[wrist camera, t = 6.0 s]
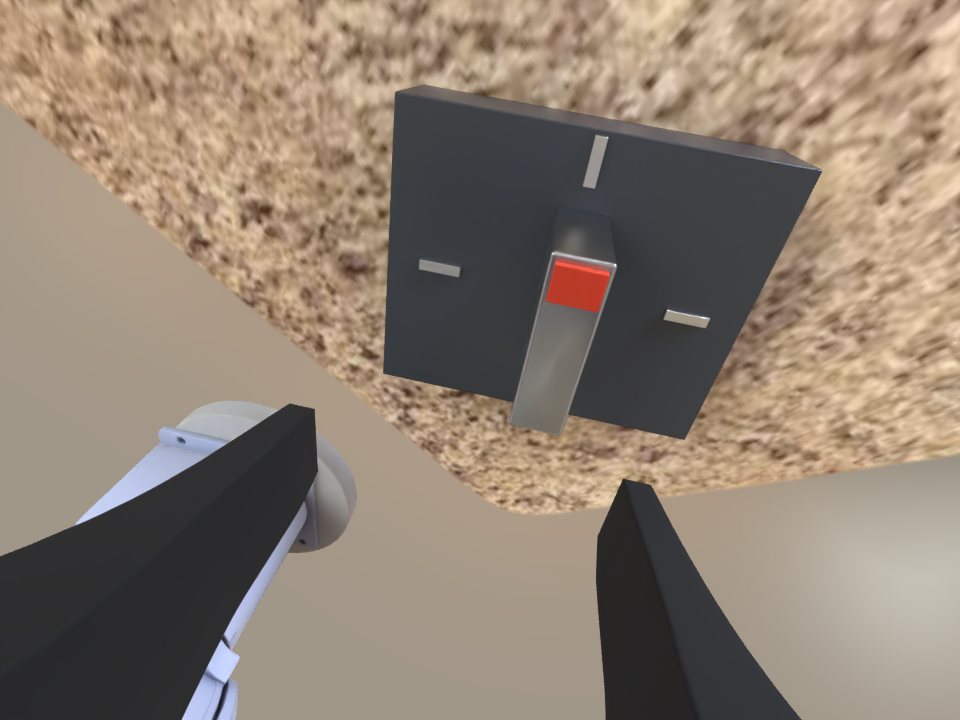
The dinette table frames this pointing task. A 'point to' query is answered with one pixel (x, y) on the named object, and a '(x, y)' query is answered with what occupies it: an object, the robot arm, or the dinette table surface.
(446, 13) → the dinette table surface
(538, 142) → the block
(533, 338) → the tap handle
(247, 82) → the dinette table surface
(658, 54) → the dinette table surface
